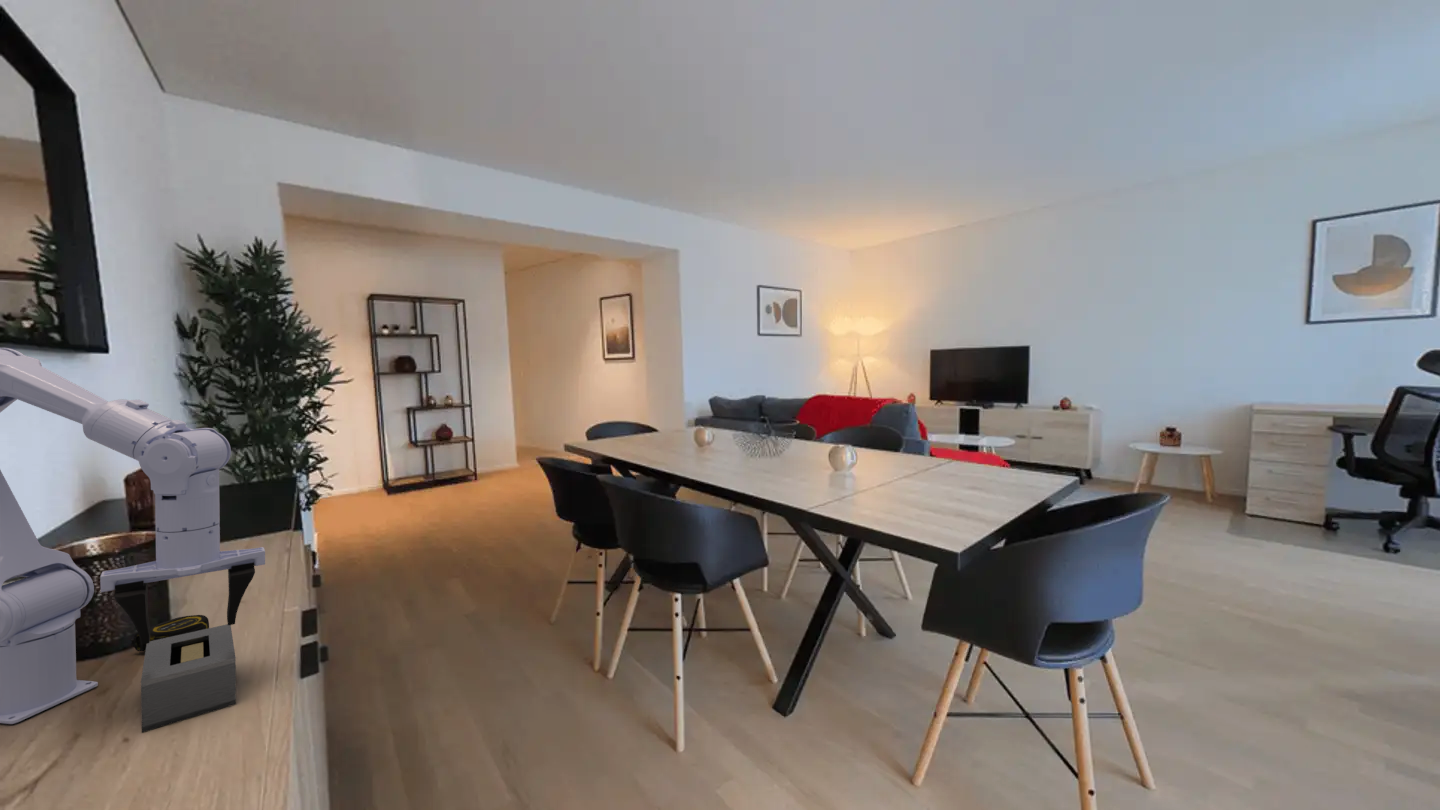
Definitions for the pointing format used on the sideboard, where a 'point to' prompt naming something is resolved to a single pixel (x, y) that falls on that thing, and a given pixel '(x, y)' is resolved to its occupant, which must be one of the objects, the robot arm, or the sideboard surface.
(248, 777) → the sideboard surface
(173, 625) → the tape measure
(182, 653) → the wooden rectangular block
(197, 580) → the sideboard surface
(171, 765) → the sideboard surface
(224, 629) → the coin box
